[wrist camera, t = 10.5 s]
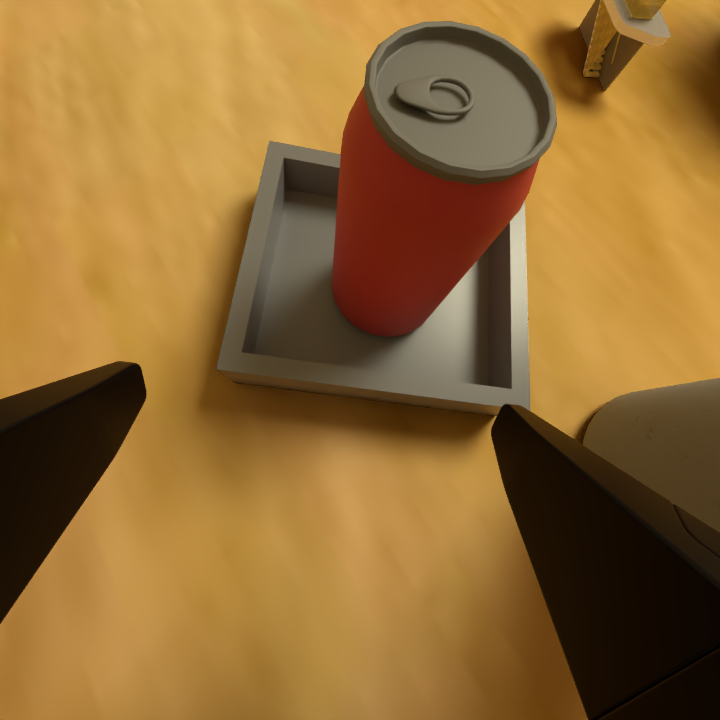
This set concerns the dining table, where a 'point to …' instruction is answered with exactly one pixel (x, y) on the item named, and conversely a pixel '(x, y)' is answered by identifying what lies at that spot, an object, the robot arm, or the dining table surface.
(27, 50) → the dining table surface
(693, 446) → the water bottle
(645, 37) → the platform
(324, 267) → the tray
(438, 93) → the beer can
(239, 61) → the dining table surface
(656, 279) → the dining table surface
